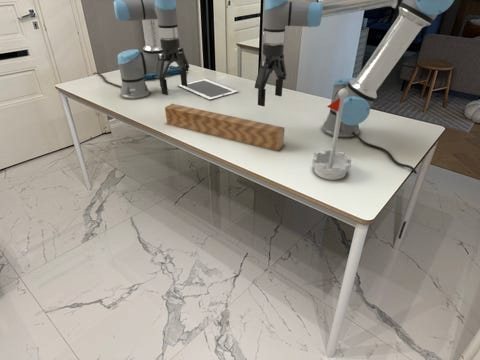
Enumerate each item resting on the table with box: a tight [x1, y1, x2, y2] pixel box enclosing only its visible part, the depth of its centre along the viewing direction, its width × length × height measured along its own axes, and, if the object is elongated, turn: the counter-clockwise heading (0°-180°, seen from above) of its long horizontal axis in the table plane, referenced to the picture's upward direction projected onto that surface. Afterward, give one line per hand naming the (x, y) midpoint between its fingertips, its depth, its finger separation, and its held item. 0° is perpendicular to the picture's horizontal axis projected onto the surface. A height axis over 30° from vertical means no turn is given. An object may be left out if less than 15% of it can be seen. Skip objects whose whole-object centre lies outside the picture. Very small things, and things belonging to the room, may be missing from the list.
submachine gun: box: [143, 64, 182, 81], centre depth 225 cm, size 34×4×25 cm
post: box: [164, 103, 285, 152], centre depth 145 cm, size 56×6×8 cm, turn 61°
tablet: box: [177, 78, 239, 101], centre depth 198 cm, size 32×20×1 cm, turn 41°
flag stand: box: [312, 88, 352, 181], centre depth 113 cm, size 13×13×30 cm
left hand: (175, 90), depth 148 cm, fingers open, 13 cm apart
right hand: (270, 100), depth 133 cm, fingers open, 13 cm apart
